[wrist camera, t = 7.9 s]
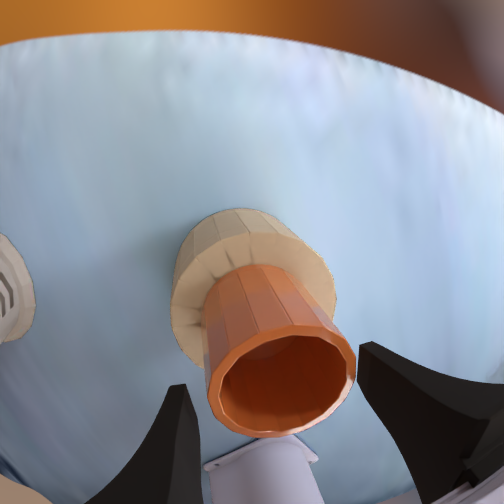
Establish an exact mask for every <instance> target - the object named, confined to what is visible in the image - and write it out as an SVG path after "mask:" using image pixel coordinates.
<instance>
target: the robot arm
mask: <svg viewBox="0 0 504 504" xmlns="http://www.w3.org/2000/svg"><path fill="white" fill-rule="evenodd" d="M357 382H358V384H359V386H360V389H361V391H362V393H363V394H364V396H365V398H366V400H367V401H368V403H369V404H370V406H371V407H372V409H373V410H374V412H375V413H376V414H377V416H378V417H379V419H380V420H381V421H382V423H383V424H384V426H385V427H386V429H387V430H388V431H389V433H390V434H391V436H392V438H393V439H394V441H395V443H396V445H397V446H398V448H399V450H400V452H401V454H402V456H403V458H404V460H405V462H406V465H407V467H408V469H409V471H410V473H411V476H412V478H413V480H414V483H415V485H416V488H417V490H418V493H419V496H420V499H421V502H422V504H504V384H492V383H482V382H475V381H469V380H464V379H460V378H456V377H452V376H448V375H445V374H442V373H439V372H436V371H433V370H431V369H428V368H426V367H424V366H421V365H419V364H417V363H414V362H412V361H410V360H408V359H406V358H404V357H402V356H400V355H398V354H396V353H394V352H392V351H391V350H389V349H387V348H385V347H383V346H381V345H379V344H377V343H375V342H373V341H371V342H367V343H364V344H361V345H359V358H358V371H357ZM317 460H318V457H317V455H316V454H315V453H314V452H312V451H311V450H310V449H309V448H308V447H307V446H306V445H305V444H303V443H302V442H301V441H300V440H299V439H298V438H297V437H296V436H295V435H294V434H291V435H287V436H284V437H279V438H261V439H259V440H257V441H255V442H253V443H251V444H249V445H247V446H245V447H242V448H240V449H238V450H236V451H234V452H232V453H229V454H227V455H225V456H223V457H220V458H218V459H216V460H214V461H211V462H209V463H206V464H205V465H204V470H206V471H207V472H209V480H210V488H211V496H212V503H213V504H324V501H323V499H322V496H321V494H320V491H319V489H318V486H317V484H316V481H315V479H314V477H313V474H312V472H311V469H310V467H309V465H310V464H312V463H314V462H316V461H317ZM84 504H204V503H203V497H202V488H201V455H200V434H199V426H198V419H197V415H196V413H195V410H194V407H193V404H192V401H191V398H190V395H189V393H188V390H187V387H186V384H180V385H172V386H170V387H169V389H168V391H167V394H166V396H165V399H164V401H163V404H162V406H161V408H160V410H159V412H158V414H157V416H156V419H155V421H154V423H153V425H152V426H151V428H150V430H149V432H148V434H147V435H146V437H145V439H144V440H143V442H142V444H141V445H140V447H139V448H138V450H137V451H136V453H135V454H134V455H133V457H132V458H131V459H130V461H129V462H128V463H127V464H126V466H125V467H124V468H123V469H122V470H121V471H120V473H119V474H118V475H117V476H116V477H115V478H114V479H113V480H112V481H111V482H110V483H109V484H108V485H107V486H106V487H105V488H104V489H102V490H101V491H100V492H99V493H98V494H96V495H95V496H94V497H92V498H91V499H90V500H88V501H87V502H86V503H84Z"/></svg>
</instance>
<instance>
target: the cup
mask: <svg viewBox="0 0 504 504" xmlns="http://www.w3.org/2000/svg"><path fill="white" fill-rule="evenodd" d="M201 334H202V347H203V359H204V371H205V382H206V392H207V399H208V401H209V404H210V407H211V409H212V412H213V415H214V416H215V418H216V419H218V420H219V421H220V422H221V423H222V424H224V425H225V426H226V427H227V428H228V429H230V430H232V431H233V432H236V433H240V434H243V435H246V436H250V437H253V438H254V437H255V438H279V437H284V436H287V435H291V434H295V433H298V432H301V431H304V430H307V429H309V428H310V427H312V426H314V425H316V424H317V423H319V422H321V421H322V420H324V419H326V418H327V417H329V416H330V415H331V414H332V413H333V412H334V411H335V410H336V409H337V408H338V407H339V406H340V405H341V404H342V402H343V401H344V400H345V399H346V397H347V395H348V393H349V391H350V389H351V387H352V385H353V383H354V381H355V378H356V356H355V354H354V352H353V351H352V349H351V347H350V345H349V344H348V342H347V340H346V339H345V337H344V336H343V335H342V334H341V332H340V331H339V330H338V328H337V327H336V326H335V325H334V323H333V322H332V321H331V320H330V318H329V317H328V316H327V315H326V313H325V312H324V311H323V309H322V308H321V307H320V306H319V304H318V303H317V302H316V301H315V299H314V298H313V297H312V296H311V294H310V293H309V292H308V291H307V289H306V288H305V287H304V286H303V284H302V283H301V282H300V281H298V280H297V279H296V278H295V277H294V276H293V275H292V274H291V273H289V272H288V271H286V270H284V269H282V268H279V267H276V266H272V265H265V264H254V265H248V266H244V267H240V268H238V269H235V270H233V271H231V272H229V273H227V274H226V275H224V276H223V277H222V278H220V279H219V280H218V281H217V282H216V283H215V284H214V285H213V287H212V288H211V289H210V290H209V292H208V294H207V296H206V298H205V300H204V303H203V306H202V313H201Z"/></svg>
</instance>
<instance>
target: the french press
mask: <svg viewBox="0 0 504 504" xmlns="http://www.w3.org/2000/svg"><path fill="white" fill-rule="evenodd" d="M35 308H36V303H35V296H34V289H33V281H32V279H31V277H30V275H29V272H28V270H27V268H26V265H25V263H24V261H23V258H22V256H21V255H20V254H19V252H18V251H17V250H16V249H15V248H14V246H13V245H12V244H11V242H10V241H9V240H8V239H7V237H6V236H4V235H3V234H1V233H0V344H1V343H2V342H9V341H13V340H16V339H20V338H22V336H23V335H24V334H25V333H26V332H27V331H28V329H29V328H30V327H31V326H32V322H33V317H34V312H35Z"/></svg>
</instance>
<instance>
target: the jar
mask: <svg viewBox="0 0 504 504" xmlns="http://www.w3.org/2000/svg"><path fill="white" fill-rule="evenodd" d="M254 264H265V265H272V266H276V267H279V268H282V269H284V270H286V271H288V272H289V273H291V274H292V275H293V276H294V277H295V278H296V279H297V280H298V281H300V282H301V283H302V284H303V286H304V287H305V288H306V289H307V291H308V292H309V293H310V294H311V296H312V297H313V298H314V299H315V301H316V302H317V303H318V304H319V306H320V307H321V308H322V309H323V311H324V312H325V313H326V315H327V316H328V317H329V318H330V320H331V321H333V317H334V312H335V306H336V300H337V298H336V292H335V285H334V279H333V276H332V274H331V272H330V271H329V269H328V267H327V265H326V263H325V262H324V260H323V258H322V257H321V256H320V255H319V254H318V253H317V252H315V251H314V250H313V249H312V248H311V247H310V246H308V245H307V244H306V243H305V242H304V241H303V240H301V239H300V238H299V237H298V236H297V235H295V234H294V233H293V232H292V231H291V230H290V229H288V228H287V227H286V226H285V225H283V224H282V223H281V222H280V221H279V220H277V219H276V218H274V217H272V216H271V215H269V214H266V213H264V212H261V211H258V210H254V209H246V208H236V209H229V210H225V211H221V212H218V213H216V214H213V215H211V216H209V217H207V218H206V219H204V220H203V221H201V222H200V223H199V224H197V225H196V226H195V227H194V228H193V229H192V230H191V231H190V233H189V234H188V235H187V237H186V238H185V240H184V241H183V243H182V245H181V247H180V250H179V253H178V256H177V260H176V263H175V270H174V277H173V284H172V292H171V300H170V316H171V326H172V331H173V333H174V335H175V337H176V340H177V342H178V344H179V346H180V348H181V350H182V351H183V352H184V353H185V354H186V355H187V356H188V357H189V358H190V359H191V360H192V361H193V362H194V363H195V364H196V365H198V366H199V367H201V368H203V369H204V359H203V347H202V334H201V313H202V306H203V303H204V300H205V298H206V296H207V294H208V292H209V290H210V289H211V288H212V287H213V285H214V284H215V283H216V282H217V281H218V280H219V279H220V278H222V277H223V276H224V275H226V274H227V273H229V272H231V271H233V270H235V269H238V268H240V267H244V266H248V265H254Z"/></svg>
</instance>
